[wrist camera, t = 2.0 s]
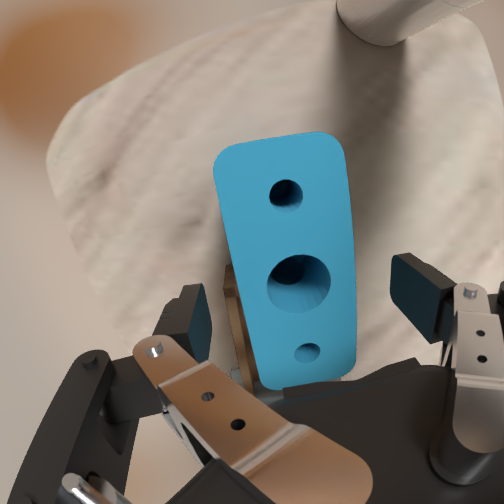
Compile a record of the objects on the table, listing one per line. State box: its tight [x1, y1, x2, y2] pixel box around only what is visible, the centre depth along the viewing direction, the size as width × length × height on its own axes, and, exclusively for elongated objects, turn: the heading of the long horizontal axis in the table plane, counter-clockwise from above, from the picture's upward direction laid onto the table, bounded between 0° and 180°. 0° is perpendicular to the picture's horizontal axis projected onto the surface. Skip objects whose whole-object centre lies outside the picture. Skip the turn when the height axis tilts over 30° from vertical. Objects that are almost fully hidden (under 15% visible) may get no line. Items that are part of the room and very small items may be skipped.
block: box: [213, 132, 357, 390], centre depth 22 cm, size 12×5×20 cm, turn 11°
